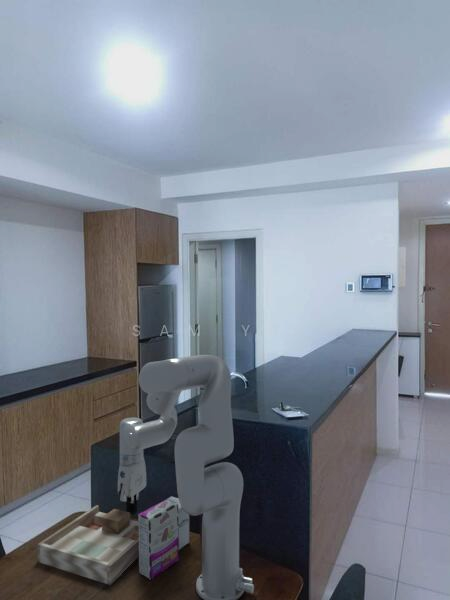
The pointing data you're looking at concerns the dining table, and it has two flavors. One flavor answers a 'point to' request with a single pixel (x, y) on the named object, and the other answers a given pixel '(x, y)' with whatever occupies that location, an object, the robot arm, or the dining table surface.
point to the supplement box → (182, 524)
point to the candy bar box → (158, 538)
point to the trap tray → (91, 548)
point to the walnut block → (116, 521)
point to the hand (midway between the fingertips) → (131, 512)
